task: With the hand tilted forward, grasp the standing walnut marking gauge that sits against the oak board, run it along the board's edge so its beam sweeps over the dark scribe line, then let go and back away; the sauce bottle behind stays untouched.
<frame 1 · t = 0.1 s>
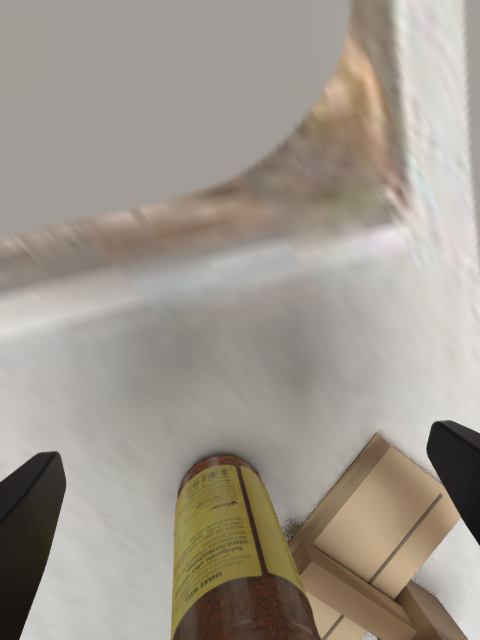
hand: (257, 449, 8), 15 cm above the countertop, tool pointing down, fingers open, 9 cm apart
sauce bottle: (223, 490, 25), on the countertop
gauge: (399, 602, 28), on the countertop
board: (331, 564, 27), on the countertop
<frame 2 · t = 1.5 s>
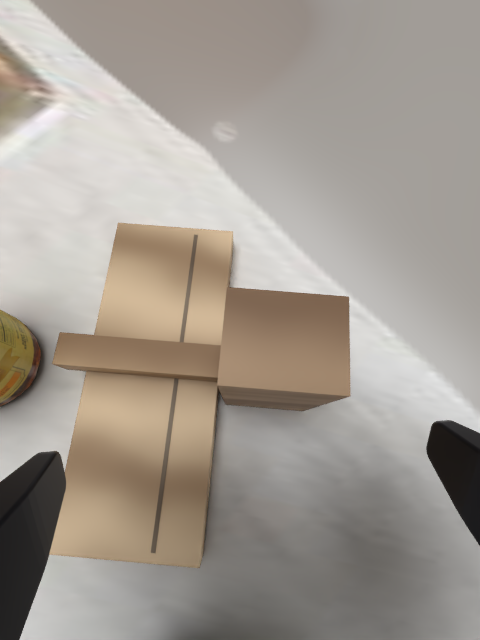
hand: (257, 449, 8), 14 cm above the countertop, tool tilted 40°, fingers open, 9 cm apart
sauce bottle: (4, 362, 24), on the countertop
gauge: (265, 376, 23), on the countertop
board: (159, 375, 23), on the countertop
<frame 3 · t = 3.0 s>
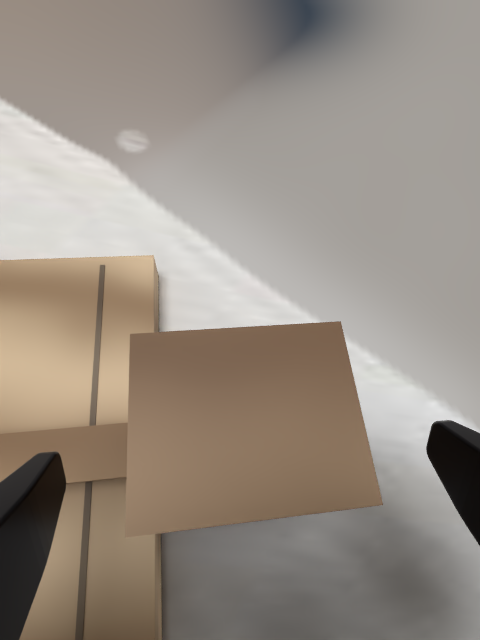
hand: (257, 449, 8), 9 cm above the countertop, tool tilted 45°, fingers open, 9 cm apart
gauge: (224, 446, 17), on the countertop
board: (67, 474, 16), on the countertop
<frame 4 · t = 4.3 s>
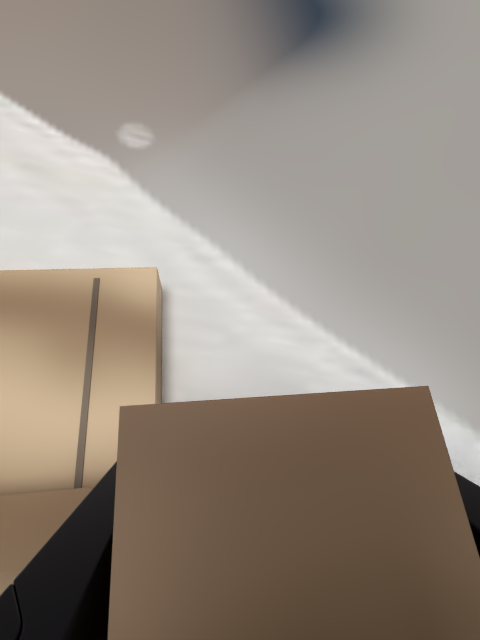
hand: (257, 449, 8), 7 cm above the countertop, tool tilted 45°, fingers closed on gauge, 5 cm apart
gauge: (237, 498, 14), on the countertop, touching gripper
board: (49, 532, 13), on the countertop
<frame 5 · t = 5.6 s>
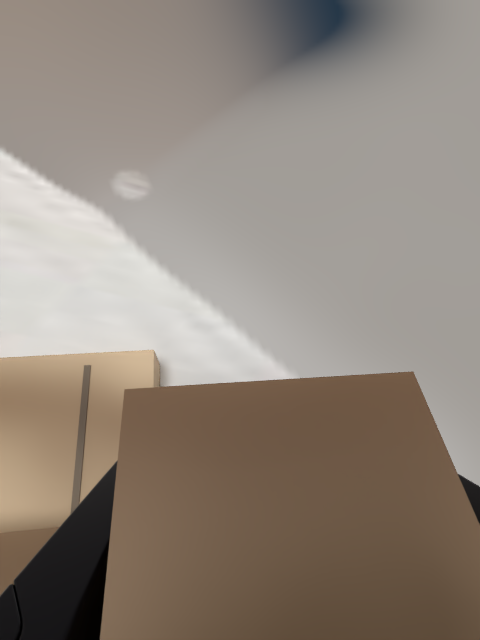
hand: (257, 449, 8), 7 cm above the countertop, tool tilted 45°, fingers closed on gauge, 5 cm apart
gauge: (242, 553, 13), point 1 cm above the countertop, tilted 12°, touching gripper
when the fingers open (7 cm above the countertop, at t = 7.3 s): gauge stays where it is, on the countertop.
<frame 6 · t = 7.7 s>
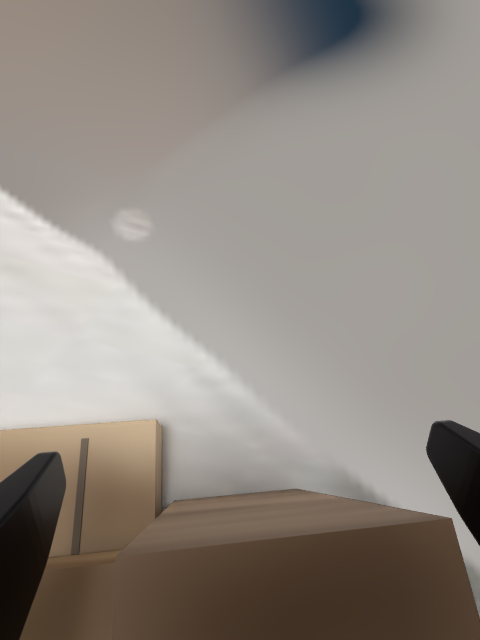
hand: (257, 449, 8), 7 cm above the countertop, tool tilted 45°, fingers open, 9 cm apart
gauge: (240, 552, 13), on the countertop
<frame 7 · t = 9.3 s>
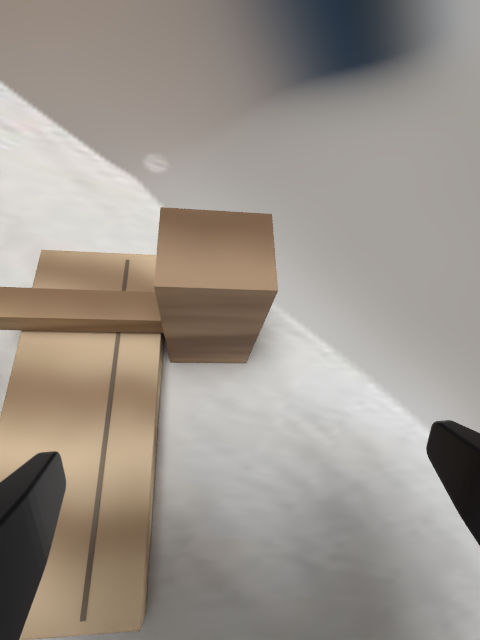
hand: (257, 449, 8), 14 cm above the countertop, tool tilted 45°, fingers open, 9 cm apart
gauge: (208, 334, 24), on the countertop
board: (91, 411, 21), on the countertop
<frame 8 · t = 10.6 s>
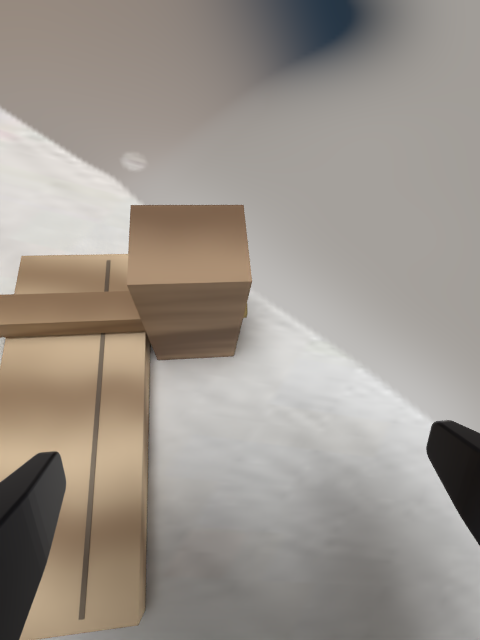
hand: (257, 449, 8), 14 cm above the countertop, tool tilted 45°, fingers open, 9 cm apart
gauge: (195, 330, 24), on the countertop
board: (81, 413, 21), on the countertop
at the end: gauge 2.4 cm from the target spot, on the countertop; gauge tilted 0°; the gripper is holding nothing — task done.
